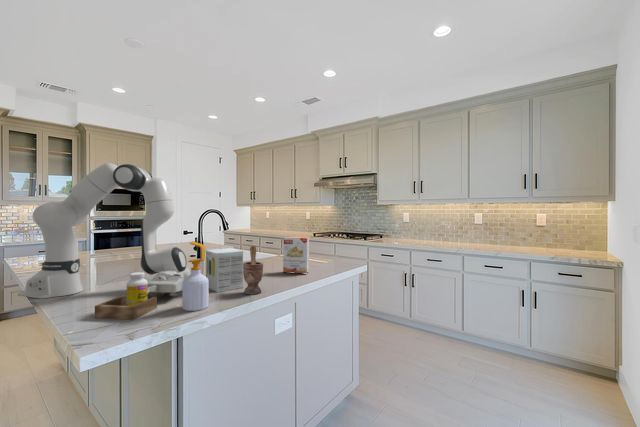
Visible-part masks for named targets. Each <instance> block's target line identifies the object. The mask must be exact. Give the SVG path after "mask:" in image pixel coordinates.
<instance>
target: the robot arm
mask: <svg viewBox="0 0 640 427" xmlns="http://www.w3.org/2000/svg"><path fill="white" fill-rule="evenodd" d="M118 187H120V188H122V189H125V190H127V191H131V192H137V193H141V194H142V196H143V198H144V199H143V200H144V203H145V215H144V217H143V218H142V220H141V223H140V224H141V225H140V226H141V227H140V233H141V234H140V236H141V239H140V240H141V257H140V268H141V270H142V271H144V273H145V274H148V275H150V276H153V275H154V277H153V278H145V279H146V280H147V282H148V294H149V293H159V294H167V293H170V294H171V293H178V292H182V283H183V280H184V279H185V278H186V277H188V276H189V275H190V274H191V269H189V267H188V266H187V265H188V264H187V263H188V262H187V256H186V254H185V252H184V251H183V250H181V248H179V247H177V246H173V247H169V248H165V249H161V250H156V238H155V237H156V236H155V234H156V232H157V230H158V229H159V228H160V227H161V226H162V225H163V224H165V223H166V222H167V221H168V220H170V219H171V218H172V216H173V215H174V212H175V206H174V202H173V196H172V192H171V190H170V187H169V185H168V183H167V181H166V180H165V179H162V178H159V177H153V176H152V174H151V173H150V172H149V171H148V170H146V169H144V168H142V167H140V166H136V165H134V164H130V163H129V164H128V163H127V164H125V163H124V164H120V165H117V164H115V163H112V162H105V163H103V164H101V165H100V166H98V167H96V168H95V169H93V170H92V171H90V172H89V173H87V174H86V176H84V177H83V178H82V179H80V180H79V181H78V182H77V183H75V185H73V186H72V187H71V192H70V193H69V194H68V195H67V197H66V198H65V199H64V200H63V201H61V202H55V201H54V202H53V201H52V202H46V203H43V204H41V205H39V206H37V207H36V208H35V209H34V210H33V211H32V219H33V221H34V223H35V224H36V225H37V226H38V227H39V229H40V231H41V234H42V237H43V241H44V249H45V250H44V255H45V256H44V257H45V260H44V262H39V263H38V264H39V267H41V268H40V270H39V271H38V272H37V273H35V274H34V275H32V276H31V277H30V278H28V279H27V280H26V284H25V289H24V290H22V291H19V292H18V293H17V296H19V297H24V298H31V299H32V298H34V299H42V300H43V299H48V298H54V297H62V296H69V295H74V294H77V293H80V292H83V290H84V288H83V284H82V280H81V273H80V267H81V264H80V263H81V260H80V258H79V240H78V238H76V236H75V232H74V229H73V228H74V227H77V226H79V225H81V224H83V223H84V222H85V221H86V220H87V218H88V216H89V214H90V213H91V212H92V211H93V209H94V208H95V207H96V206H97V205H98V204H99V203H100V202H101V201H102V200H104V199H105V198H106V197H107V196H109V194H110V193H112V192H113V190H115V189H117V188H118Z"/></svg>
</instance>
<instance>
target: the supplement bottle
mask: <svg viewBox="0 0 640 427" xmlns="http://www.w3.org/2000/svg"><path fill="white" fill-rule="evenodd" d="M145 274H146V272H145V271H144V272H142V271H141V272H139V271H138V272H132V273H130V274H129V278H130V280H128V281H127V283H126V306H134V305H136V304H139V303H141V302H143V301H145V300H147V299H148V294H149V293H148V282H147V280H146V279H147V278H145V276H146V275H145Z"/></svg>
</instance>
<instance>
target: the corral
mask: <svg viewBox="0 0 640 427" xmlns="http://www.w3.org/2000/svg"><path fill="white" fill-rule="evenodd" d="M157 308H158V297H157V296H152V297H150V298H147V300H145V301H143V302H141V303H139V304H136V305H134V306H127V305H126V295H120V296H117V297H114V298H113V299H109V300H107V301H104V302H102V303H100V304H96V305H94V318H95V319H111V320H132V321H135V320H136V319H138V318H140V317H142V316H144V315H145V314H148V313H149V312H151V311H153V310H155V309H157Z"/></svg>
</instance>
